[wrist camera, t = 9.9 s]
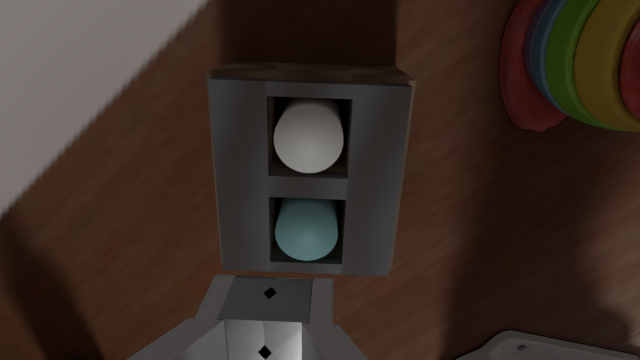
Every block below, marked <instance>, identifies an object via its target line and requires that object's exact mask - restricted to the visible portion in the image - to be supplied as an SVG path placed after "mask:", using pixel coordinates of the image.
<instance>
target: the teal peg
mask: <svg viewBox="0 0 640 360" xmlns="http://www.w3.org/2000/svg"><path fill="white" fill-rule="evenodd" d="M275 237H276V241H277V243H278V245H279V247H280V248H281V249H282V250H283V251H284V252H285V253H286V254H287V255H289V256H290V257H293V258H295V259H298V260H305V261H310V260H316V259H319V258H322V257H324V256H325V255H327V254H328V253H329V252H330V251H331V250H332V249H333V248H334V246H335V244H336V242H337V238H338V227H337V207H336V199H311V198H285V197H283V200H282V204H281V208H280V212H279V216H278V220H277V224H276V228H275Z"/></svg>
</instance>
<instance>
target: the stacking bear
mask: <svg viewBox="0 0 640 360" xmlns="http://www.w3.org/2000/svg"><path fill="white" fill-rule="evenodd" d="M499 83H500V90H501V95H502V98H503V102H504V105H505V108H506V110H507V112H508V114H509V116H510V118H511V120H512V121H513V123H514V124H515V125H516V126H517V127H519V128H520V129H529V130H530V131H533V132H542V131H544V130H546V129H547V128H549V127H553V126H556V125H557V124H559V123H560V122H561V121H562V120H563V119H564V118H565V117H566V116H567V115H568V116H570V117H572V118H574V119H576V120H578V121H581V122H583V123H585V124H589V125H592V126H596V127H600V128H605V129H611V130H617V131H632V132H640V0H521V1H520V2H519V4H518V5H517V6H516V8H515V9H514V11H513V13H512V15H511V17H510V18H509V20H508V23H507V26H506V28H505V32H504V36H503V40H502V44H501V50H500V58H499Z"/></svg>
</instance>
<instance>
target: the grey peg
mask: <svg viewBox="0 0 640 360" xmlns="http://www.w3.org/2000/svg"><path fill="white" fill-rule="evenodd" d="M274 146H275V149H276V152H277V154H278V156H279V158H280V159H281V160H282V161H283V162H284V163H285V164H286V165H287V166H288V167H290V168H291V169H293V170H296V171H299V172H303V173H316V172H320V171H322V170H325V169H327V168H328V167H330V166H331V165H332V164H333V163H334V162H335V161H336V160H337V159H338V157H339V155H340V153H341V151H342V148H343V131H342V124H341V117H340V109H339V103H338V100H337V99H331V98H304V97H290V99H289V101H288V103H287V105H286V107H285V109H284V111H283V113H282V115H281V118H280V120H279V122H278V124H277V126H276V128H275V132H274Z"/></svg>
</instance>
